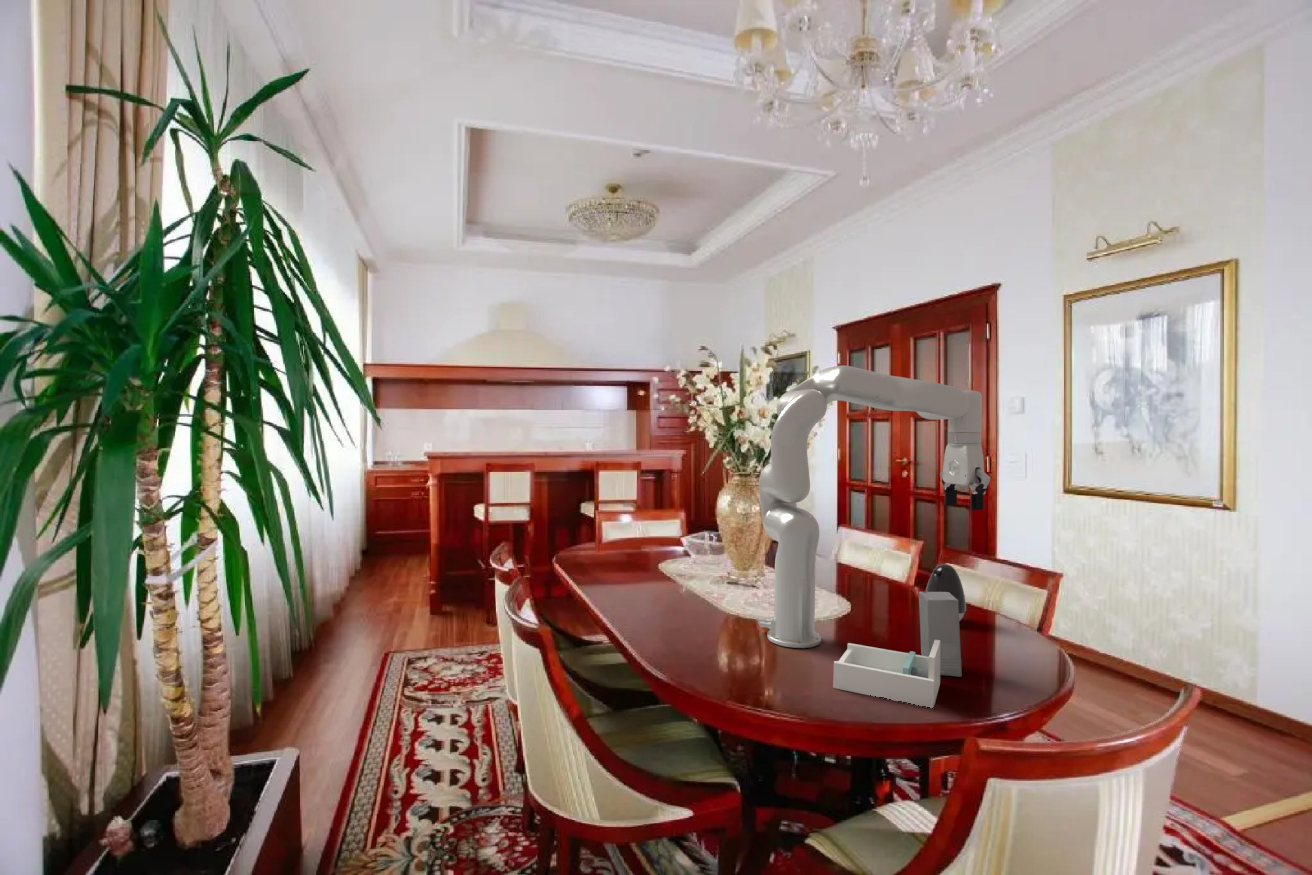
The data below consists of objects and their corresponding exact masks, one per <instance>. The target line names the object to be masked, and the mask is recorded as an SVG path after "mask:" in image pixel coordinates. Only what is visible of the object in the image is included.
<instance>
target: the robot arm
mask: <svg viewBox="0 0 1312 875" xmlns="http://www.w3.org/2000/svg"><path fill="white" fill-rule="evenodd" d="M982 396H983V395H982V393H981V392H980V391H977V390H962V389H961V388H959V387H956V386H952V385H947V384H943V383H938V382H935V381H934V382H933V381H928V380H921V379H916V378H915V379H913V378H909V377H903V376H895V375H890V374H886V373H882V372H881V373H880V372H877V371H873V370H868V369H864V368H859V367H854V366H851V365H843V364H842V365H836V366H831V367H827V368H824V369H822V370H819V371H818V372H816V373H815V374H813V375H812V376H810V377H808V378H807V379H806V380H804V381H802V382H801V383H798V385H795V386H794V387H792V388H791V389H790V390H788V391H786V392H785V393H783V394H782V395H781V396H780V398H779V399H778V401H777V403H776V413H777V419H775V423H774V424H773V427H772V430H771V434H770V459H771V460H770V461H771V462H770V463H768V464H767V465H766V466H765V467H764V468H763V469H762V471H761V472H760V474H759V475H760V476H759V481H758V489H759V490H758V492H759V503H760V514H761V522H762V526H763V530H764V531H765V533H766V535H768V537H769V538H770V539H772V540H774V541H776V542H777V543H778V544H777V549H776V553H775V558H774V559H775V560H774V605H773V606H774V609H773V610H774V616H772V617H771V618H769V617H766V616H758V619H757V623H758V625H759V627H761V628H768V629H769V630H768V631H767V634H766V635H767V639H768V640H769V642H771V643H773V644H775V645H778V646H782V647H784V648H785V647H786V648H793V649H806V648H809V649H810V648H814V647H817V646H819V645H820V644H821V642H822V636H821V634H820V633H818V632H816V631H815V628H816V627H815V624H816V618H815V617H816V615H815V614H816V561H817V551H818V545H819V540H820V526H819V523H818V521H817V518H815V516H814V515H813V514H812V513H810V511H807V510H805V509H803V508H801V507H797V505H798V503H800V502H802V501H804V500H805V499H806V498H807V497H808V495H809V494H810V491H811V479H810V478H811V477H810V467H809V457H808V439H809V435H810V432H811V431H812V429H813V428H814V427H815V425H817V423H819V422H820V421H821V420H822V419H823V418H824V417H825V415H826V413H827V410H828V405H829V404H830V403H832V402H833V401H834V402H836V401H837V402H838V401H840V402H841V401H842V402H847V403H850V404H857V405H861V406H867V407H870V408H874V409H879V410H883V411H891V412H892V411H893V412H898V411H899V412H903V411H905V412H909V411H910V412H916V413H917V415H919V416H920V417H921V418H923V419H926V420H931V421H933V420H938V421H939V420H948V426H947V427H948V432H947V433H948V435H947V438H948V439H947V444H946V447H945V451H944V456H943V457H944V458H943V464H942V465H943V468H942V470H941V471H940V473H939V476H940V478H941V483H942V486H943V487H942V489H943V490H944V506H957V504H958V490H957V487H958V486H969V490H970V491H971V493H970V494H969V495H970V498H969V499H970V500H969V501H970V504H969V506H970V507H969V509H970V510H971V511H983V510H984V496H985V494H986V491H987V490H988V487H989V484H990V482H991V476H989V475H988V474H987V473H986V472H985V462H984V454H983V448H982V423H983V422H982V421H983V420H982V419H983V417H982V416H983V415H982V413H983V409H982V408H983V397H982Z"/></svg>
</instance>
